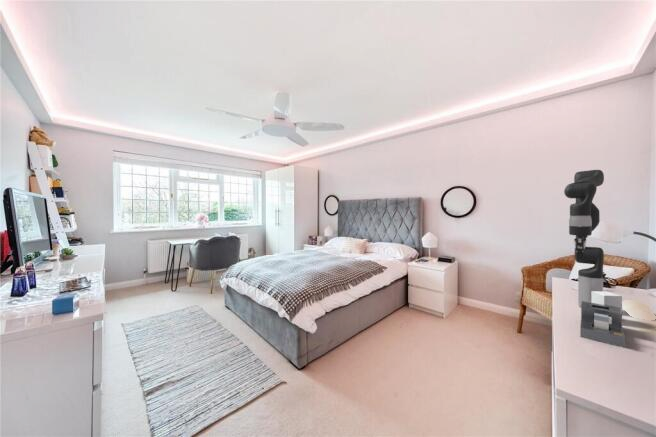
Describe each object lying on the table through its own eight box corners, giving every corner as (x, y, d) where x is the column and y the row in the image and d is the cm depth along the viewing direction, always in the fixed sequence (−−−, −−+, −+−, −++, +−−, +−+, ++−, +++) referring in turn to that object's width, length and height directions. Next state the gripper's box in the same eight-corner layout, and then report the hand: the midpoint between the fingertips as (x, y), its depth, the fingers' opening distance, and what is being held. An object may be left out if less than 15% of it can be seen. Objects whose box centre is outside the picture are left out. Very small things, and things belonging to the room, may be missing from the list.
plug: (594, 331, 106) (594, 312, 106) (611, 335, 102) (611, 316, 102) (594, 333, 104) (594, 314, 104) (611, 337, 100) (611, 318, 100)
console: (581, 319, 120) (581, 301, 119) (620, 327, 111) (619, 307, 111) (580, 336, 103) (580, 315, 103) (625, 347, 94) (624, 324, 94)
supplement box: (623, 322, 115) (623, 296, 115) (604, 321, 116) (603, 295, 116) (608, 316, 122) (608, 291, 122) (590, 315, 124) (590, 290, 123)
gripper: (570, 224, 124) (570, 256, 125) (568, 225, 115) (568, 260, 115) (591, 224, 119) (591, 257, 119) (591, 226, 109) (591, 262, 109)
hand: (580, 258), depth 117 cm, fingers open, 8 cm apart
